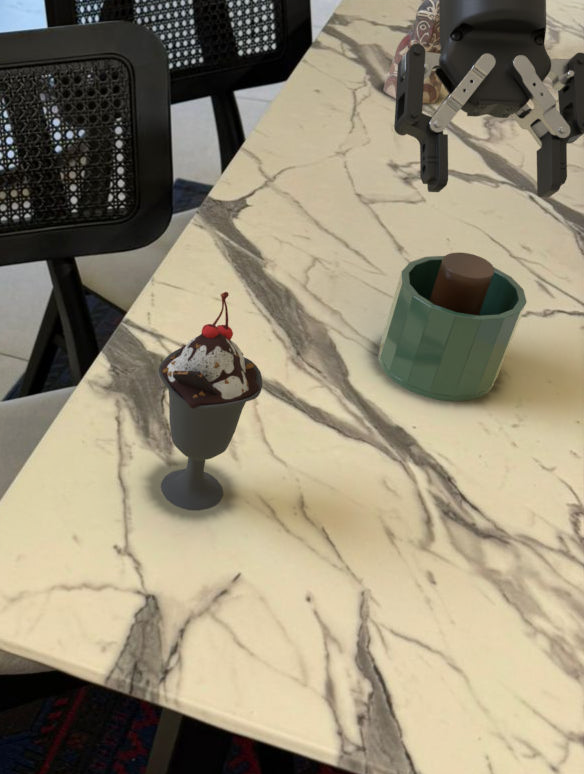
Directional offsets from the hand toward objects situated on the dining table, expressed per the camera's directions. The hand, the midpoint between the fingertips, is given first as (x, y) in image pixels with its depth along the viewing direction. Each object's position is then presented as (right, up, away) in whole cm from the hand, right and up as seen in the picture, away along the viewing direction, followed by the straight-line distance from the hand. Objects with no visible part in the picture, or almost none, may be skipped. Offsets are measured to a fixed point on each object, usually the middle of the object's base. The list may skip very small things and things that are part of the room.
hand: (493, 191), depth 76 cm
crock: (-1, -12, +10) cm, 16 cm away
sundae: (-23, -22, -4) cm, 32 cm away
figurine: (+11, +29, +58) cm, 66 cm away
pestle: (-1, -12, +9) cm, 15 cm away
